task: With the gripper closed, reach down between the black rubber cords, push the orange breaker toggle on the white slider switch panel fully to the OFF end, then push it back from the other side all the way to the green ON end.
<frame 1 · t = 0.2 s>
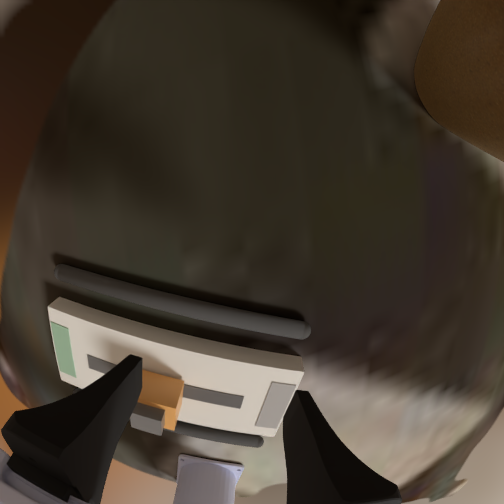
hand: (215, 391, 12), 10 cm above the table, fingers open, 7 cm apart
plant pot: (446, 87, 16), on the table
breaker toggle: (153, 404, 20), point 4 cm above the table, slide at 0.0 cm
white slider switch panel: (166, 370, 24), on the table
dressed cords: (166, 370, 24), on the table
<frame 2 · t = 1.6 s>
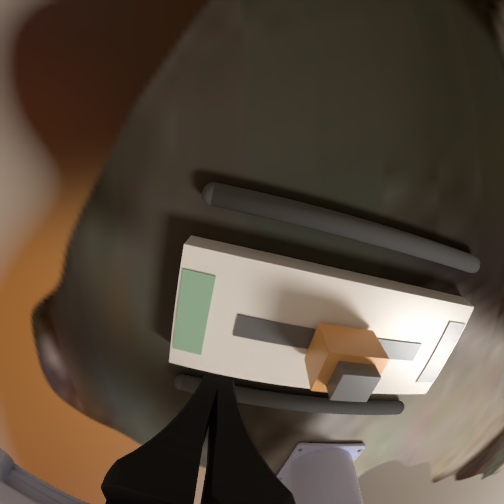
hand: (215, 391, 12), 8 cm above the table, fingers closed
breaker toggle: (346, 365, 16), point 5 cm above the table, slide at 0.0 cm
white slider switch panel: (331, 327, 21), on the table
dressed cords: (331, 327, 21), on the table
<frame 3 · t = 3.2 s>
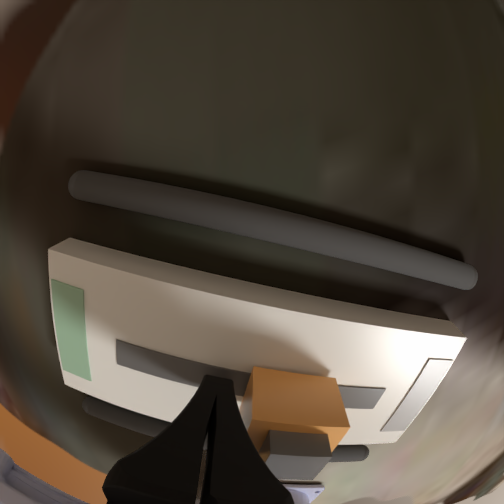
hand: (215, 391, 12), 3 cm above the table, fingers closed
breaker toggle: (289, 428, 11), point 5 cm above the table, slide at -1.6 cm, touching gripper
white slider switch panel: (255, 361, 15), on the table
dressed cords: (255, 361, 15), on the table
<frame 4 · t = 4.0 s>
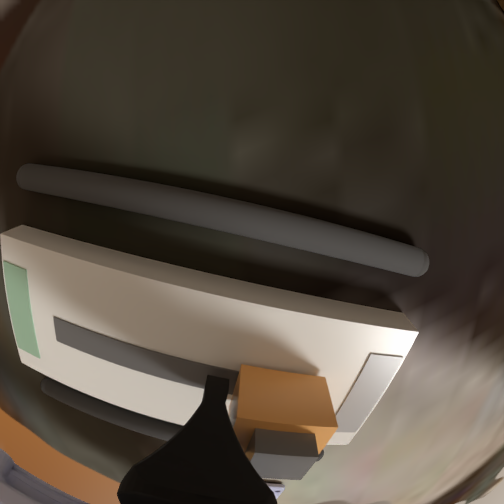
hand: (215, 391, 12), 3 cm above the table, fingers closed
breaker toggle: (277, 427, 11), point 4 cm above the table, slide at -4.9 cm, touching gripper
white slider switch panel: (184, 345, 15), on the table
dressed cords: (184, 345, 15), on the table
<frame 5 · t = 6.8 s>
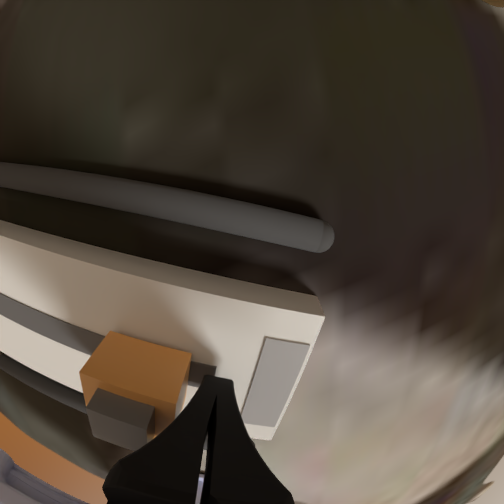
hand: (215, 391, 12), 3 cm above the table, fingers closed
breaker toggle: (134, 396, 11), point 5 cm above the table, slide at -3.8 cm, touching gripper
white slider switch panel: (99, 321, 15), on the table
dressed cords: (99, 321, 15), on the table
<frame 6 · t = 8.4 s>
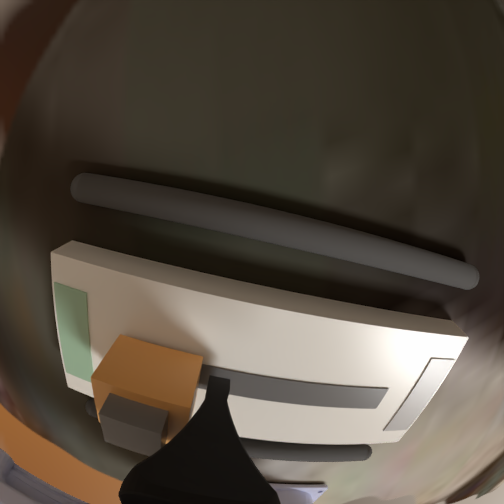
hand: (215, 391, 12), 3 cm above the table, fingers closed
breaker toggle: (145, 400, 11), point 5 cm above the table, slide at 4.9 cm, touching gripper
white slider switch panel: (259, 362, 15), on the table
dressed cords: (259, 362, 15), on the table
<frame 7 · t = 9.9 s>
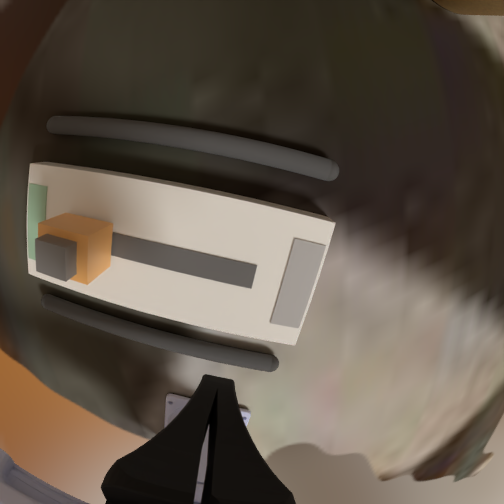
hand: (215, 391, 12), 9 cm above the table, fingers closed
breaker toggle: (69, 248, 16), point 4 cm above the table, slide at 4.6 cm
white slider switch panel: (157, 243, 20), on the table
dressed cords: (157, 243, 20), on the table
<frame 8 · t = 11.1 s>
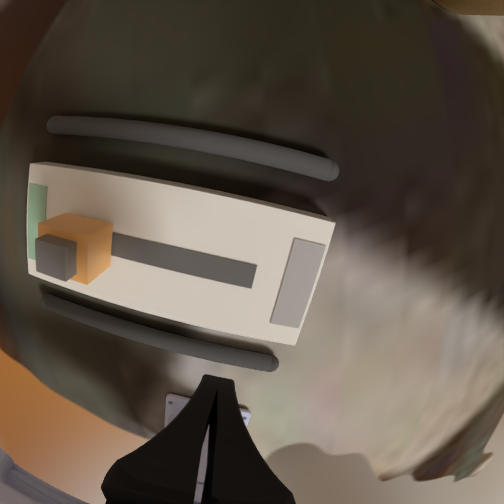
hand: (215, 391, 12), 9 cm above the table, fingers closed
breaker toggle: (69, 248, 16), point 4 cm above the table, slide at 4.6 cm
white slider switch panel: (157, 243, 20), on the table
dressed cords: (157, 243, 20), on the table
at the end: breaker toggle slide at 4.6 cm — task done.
